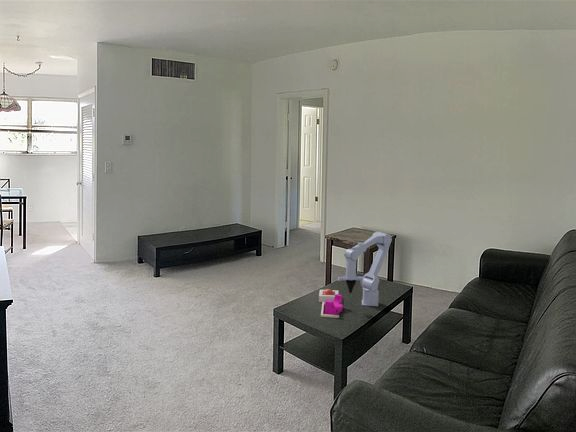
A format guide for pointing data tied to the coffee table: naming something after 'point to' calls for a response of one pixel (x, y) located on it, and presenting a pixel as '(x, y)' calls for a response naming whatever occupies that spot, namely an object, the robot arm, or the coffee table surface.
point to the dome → (328, 292)
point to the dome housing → (326, 296)
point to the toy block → (334, 305)
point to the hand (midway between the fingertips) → (350, 292)
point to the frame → (326, 314)
